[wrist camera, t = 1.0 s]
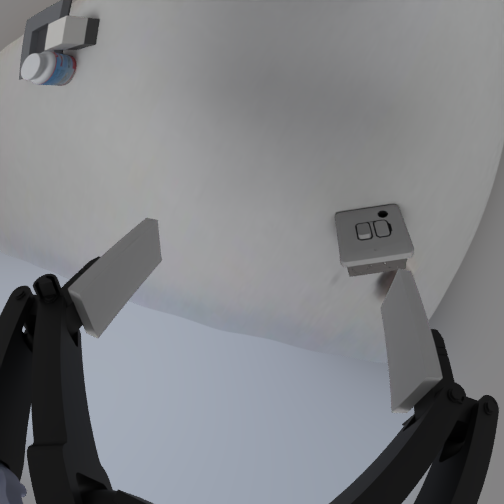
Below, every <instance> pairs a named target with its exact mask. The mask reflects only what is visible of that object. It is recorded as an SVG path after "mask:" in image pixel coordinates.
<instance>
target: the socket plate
mask: <svg viewBox="0 0 504 504" xmlns="http://www.w3.org/2000/svg"><path fill="white" fill-rule="evenodd" d="M71 3H72V0H61V1H59V2H57V3H55V4H53V5H51V6H50V7H48V8H46V9H45V10H43V11H41V12H39V13H38V14H36V15H34V16H33V17H31V18H30V19H28V20H27V23H26V28H25V33H24V39H23V46H22V54H21V63H20V75H19V80H20V79H23V78H22V76H21V68H22V65H23V63H24V61H25V59H26V58H27V57H28V56H29V55H31V54H33V53H39V54H40V53H42V52H44V51H51V52H56V53H60V54H63V50H45V43H46V37H47V31H48V25H49V24H50V23H52V22H54V21H56V20H58V19H60V18H63V17H65V16H69V12H70V7H71Z"/></svg>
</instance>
